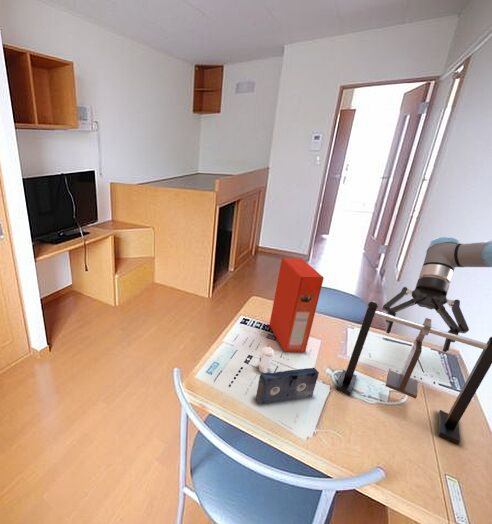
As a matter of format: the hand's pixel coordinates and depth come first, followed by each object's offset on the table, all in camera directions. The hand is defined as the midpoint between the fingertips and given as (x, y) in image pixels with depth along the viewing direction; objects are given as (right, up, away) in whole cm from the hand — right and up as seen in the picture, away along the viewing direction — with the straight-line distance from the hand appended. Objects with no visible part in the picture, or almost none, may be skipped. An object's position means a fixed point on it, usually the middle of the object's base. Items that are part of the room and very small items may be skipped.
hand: (415, 341), depth 94 cm
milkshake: (-42, -14, +14) cm, 46 cm away
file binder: (-26, -7, +31) cm, 41 cm away
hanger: (-7, -12, -3) cm, 14 cm away
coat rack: (-7, -20, 0) cm, 21 cm away
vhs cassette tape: (-40, -19, +3) cm, 44 cm away
